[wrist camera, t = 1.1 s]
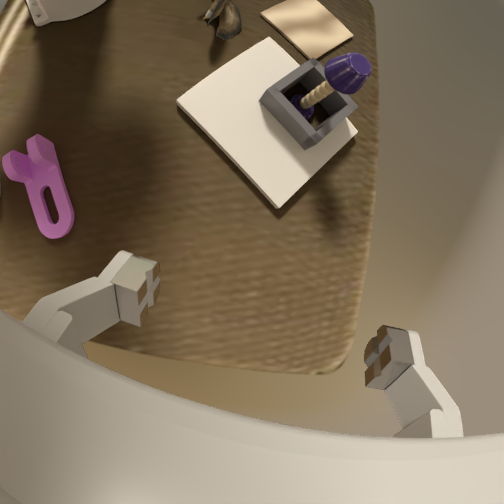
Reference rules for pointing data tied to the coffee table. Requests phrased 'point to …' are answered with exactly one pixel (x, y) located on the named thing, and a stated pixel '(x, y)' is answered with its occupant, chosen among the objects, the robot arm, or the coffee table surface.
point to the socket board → (269, 118)
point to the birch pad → (307, 26)
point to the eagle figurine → (225, 18)
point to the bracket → (42, 184)
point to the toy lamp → (335, 81)
